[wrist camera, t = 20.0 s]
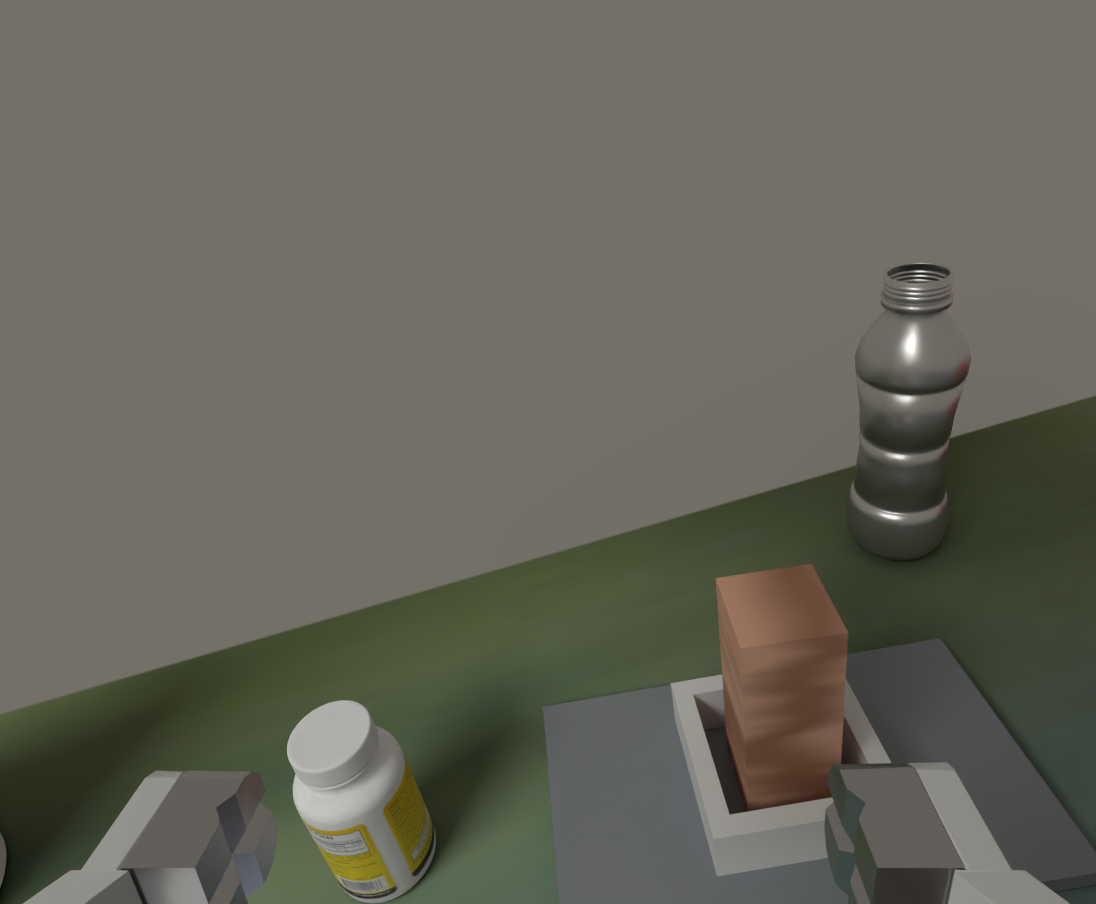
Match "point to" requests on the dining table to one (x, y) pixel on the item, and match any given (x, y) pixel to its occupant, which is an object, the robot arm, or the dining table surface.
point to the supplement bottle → (360, 802)
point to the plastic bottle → (907, 414)
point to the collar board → (785, 831)
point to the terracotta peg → (781, 684)
